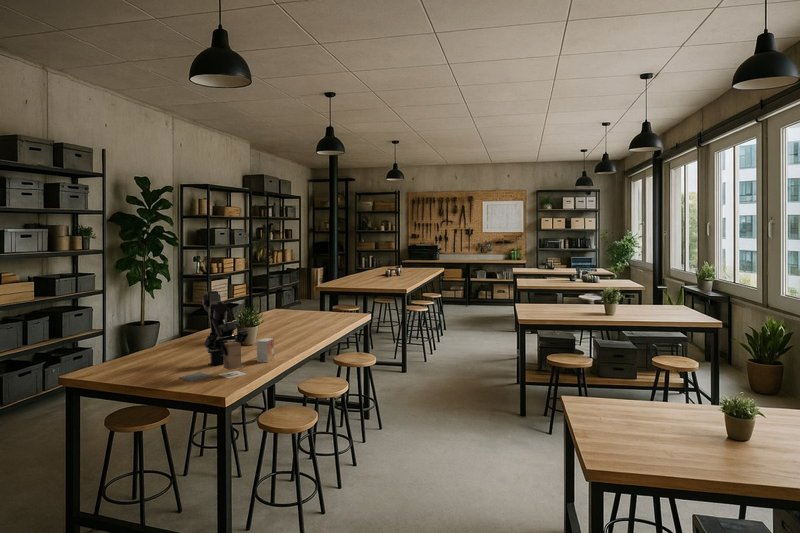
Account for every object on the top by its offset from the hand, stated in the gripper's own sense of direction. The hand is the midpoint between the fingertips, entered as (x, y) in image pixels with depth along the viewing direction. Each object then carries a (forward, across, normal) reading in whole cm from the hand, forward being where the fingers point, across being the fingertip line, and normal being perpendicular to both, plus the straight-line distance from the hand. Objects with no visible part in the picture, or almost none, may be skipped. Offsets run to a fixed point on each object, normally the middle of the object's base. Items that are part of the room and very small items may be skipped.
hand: (233, 353), depth 230 cm
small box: (-3, +24, +17) cm, 30 cm away
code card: (+6, 0, +8) cm, 10 cm away
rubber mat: (+1, -14, +13) cm, 19 cm away
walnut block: (+4, 0, +6) cm, 7 cm away
